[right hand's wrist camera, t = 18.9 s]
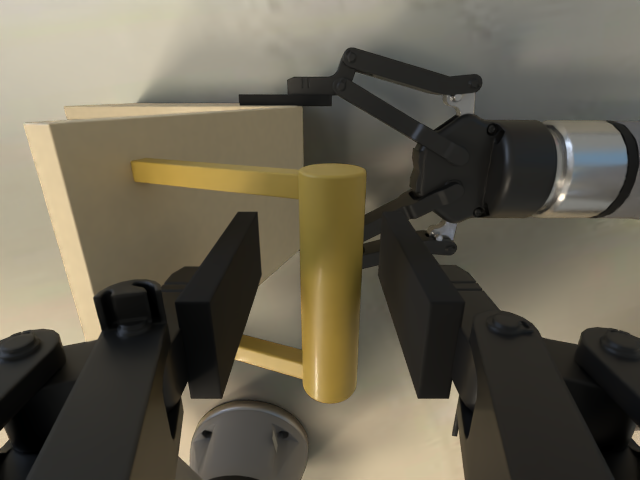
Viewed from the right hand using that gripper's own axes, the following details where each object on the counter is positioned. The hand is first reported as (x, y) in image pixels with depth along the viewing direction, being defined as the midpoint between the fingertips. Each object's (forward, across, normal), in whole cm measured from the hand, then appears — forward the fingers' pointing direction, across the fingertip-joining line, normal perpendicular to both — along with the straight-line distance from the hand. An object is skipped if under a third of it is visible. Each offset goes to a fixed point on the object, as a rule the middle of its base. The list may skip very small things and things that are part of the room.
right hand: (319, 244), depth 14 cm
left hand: (+16, +6, 0) cm, 17 cm away
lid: (+4, +5, 0) cm, 7 cm away
